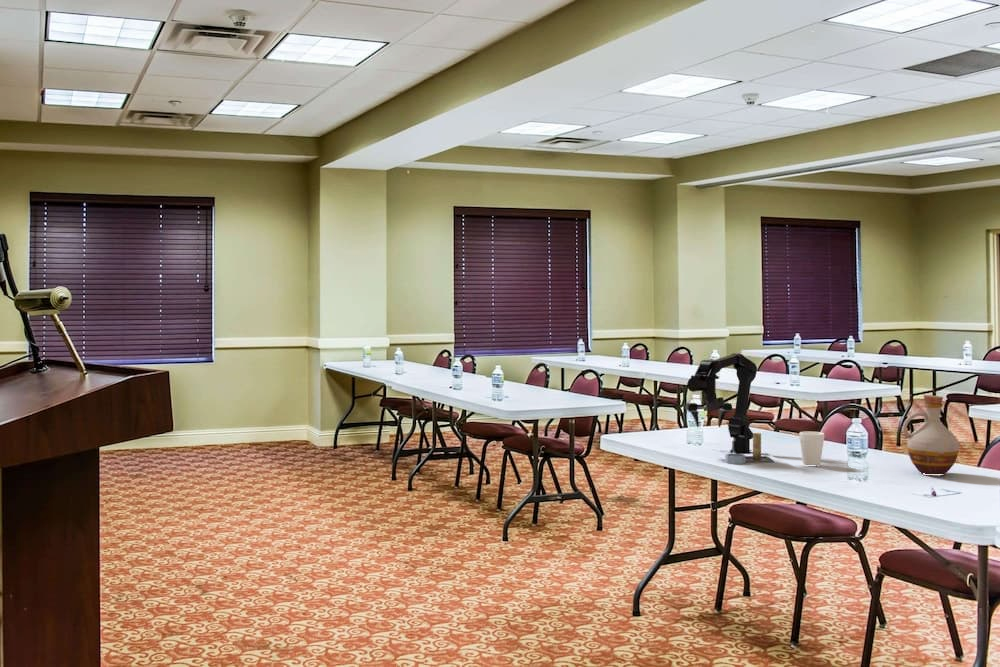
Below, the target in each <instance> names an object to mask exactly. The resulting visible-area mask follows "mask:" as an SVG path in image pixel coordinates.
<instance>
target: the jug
mask: <svg viewBox="0 0 1000 667" xmlns="http://www.w3.org/2000/svg"><path fill="white" fill-rule="evenodd" d="M922 397H923V400H924V402H923V407H924V408H925V412H924V411H915V412H914V413H911V414H910V415H909V416H908V417H907V418H906V419H905V420H904V422H903V424H902V432H903V435H904V436H905V437H906V438H907V442H906V447H907V448H906V450H907V453H908V457H909V459H910V461H911V463H912V464H913V466H914V467H915V468H916V470H917V471H918V472H919V473H920V472H921V473H925V474H945V473H948V472H949V471H950V469H951V468H952V467H954V465H955V463H956V460H957V459H958V456H959V452H960V451H959V450H960V443H959V441H958V439H957V437H956V435H955V434H954V433H952V431H951V430H949V428H947V427H946V426H945V425H944V424H943V422H941V419H940V418H941V410H942V408H943V405H944V404H943V399H944V396H940V395H931V394H923V396H922ZM919 416H922V417H923V418H924V422H923V423H922V424H921V425H920V426H918V427H917V428H916V429H915V430H913V432H911V433H908V431H907V430H908V428H907V427H908V425H909V423H910V422H911V421H912V420H913V419H915V418H916V417H919ZM921 473H920V474H921ZM945 475H946V474H945Z"/></svg>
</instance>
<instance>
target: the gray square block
mask: <svg viewBox="0 0 1000 667" xmlns="http://www.w3.org/2000/svg"><path fill="white" fill-rule="evenodd" d="M745 456H746V455H745V454H744V453H727V454H725V463H726V464H730V465H743V464H746V462H745Z"/></svg>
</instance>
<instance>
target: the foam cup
mask: <svg viewBox="0 0 1000 667" xmlns="http://www.w3.org/2000/svg"><path fill="white" fill-rule="evenodd" d="M798 436H799V437H798V438H799V440H800V449H801V457H802V464H805V465H820V466H821V461H822V454H823V447H824V441H825V433H824V432H821V431H811V430H810V431H806V430H805V431H800V432H799V434H798Z"/></svg>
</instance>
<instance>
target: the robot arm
mask: <svg viewBox="0 0 1000 667" xmlns="http://www.w3.org/2000/svg"><path fill="white" fill-rule="evenodd" d="M731 366H732V367H733V368H734V369H735V371H736V377H737V379H738V388H737V394H736V402H735V410H734V414H733V415H732V416H730V417H729V418H728V424H727V427H728V433H729V436H730V438H733V440H732V442H731V444H732V446H731V447H732V448H731V451H732V452H734V454H751V453H752V451H751V450H750V445H751V443H750V440H753V433H754V432H753V431H752V430H751V429H750V421H749V419H748V416H747V414H748V406H749V398H750V393H751V387H752V386H751V384H752V382H753V381H754V380H755V379H756V378H757V377H756V375H757V372H758V367H757V365H756V363H755V362H753V361H752V360H751V359H749V358H748V357H745V355H743V354H742V353H734V352H733V353H731V354H729V355H726V356H723V357H720V358H717V359H704V360H703V359H702V360H701V361H700V363H699V365H698V367H697V368H696V370H695V373H694V374H693V375H692V374H691V376H690V378H689V379H688V381H687V383H686V386H687V390H689V391H690V392H700V391H701V392H700V394H701V402H700V404H698V403H696V402H685V406H684V409H685V410H686V411H687V412H689V413H691V415H692V417H693V419H694V420H693V421H694V423H695V426H696V428H699V426H700V424H699V411H698V410H718V414H717V415H718V419H717V420H718V421H717V425H718V427H719V428H721V426H722V422H723V420H724V417H725V415H727V413H729V412H730V411H733V404H732V403H730V402H725V401H724V397H717V391H716V389H717V388H716V385H717V383H716V380H719V379H720V377H719V376H718V375H717V374H718V373H720V371H721V370H722V369H724V368H727V367H731Z"/></svg>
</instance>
